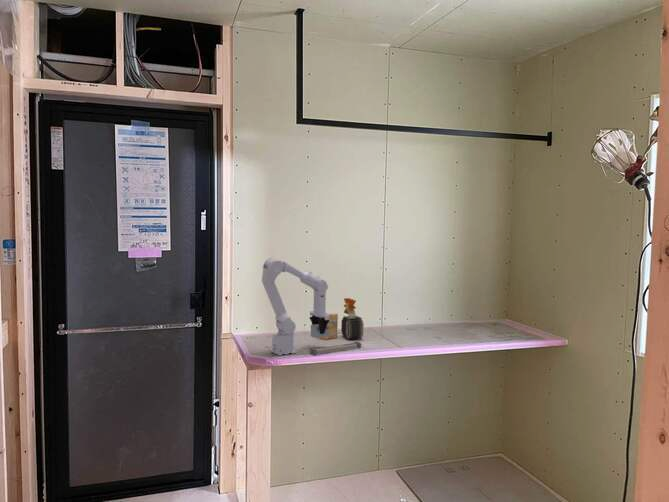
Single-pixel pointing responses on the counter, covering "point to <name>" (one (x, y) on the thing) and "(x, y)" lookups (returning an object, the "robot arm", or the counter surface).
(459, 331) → the counter surface
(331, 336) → the supplement box
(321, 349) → the rail
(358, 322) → the bomb
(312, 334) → the block
